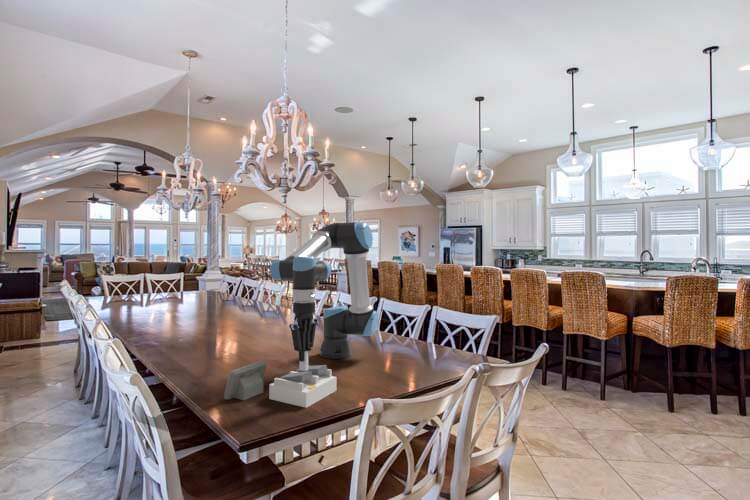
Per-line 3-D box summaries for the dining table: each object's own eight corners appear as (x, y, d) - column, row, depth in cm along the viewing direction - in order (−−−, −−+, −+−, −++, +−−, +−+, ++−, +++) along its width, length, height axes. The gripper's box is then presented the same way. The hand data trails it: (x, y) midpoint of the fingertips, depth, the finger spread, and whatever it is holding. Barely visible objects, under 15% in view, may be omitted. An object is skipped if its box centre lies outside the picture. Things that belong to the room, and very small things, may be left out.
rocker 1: (280, 384, 140) (279, 377, 141) (290, 379, 145) (289, 373, 145) (302, 382, 136) (301, 375, 136) (312, 377, 141) (311, 371, 141)
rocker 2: (296, 376, 148) (295, 370, 149) (305, 372, 153) (305, 366, 153) (318, 375, 144) (317, 368, 144) (327, 370, 149) (326, 364, 149)
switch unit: (269, 398, 141) (269, 377, 140) (301, 383, 156) (301, 364, 156) (306, 407, 133) (306, 385, 133) (336, 390, 149) (336, 370, 149)
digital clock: (259, 385, 154) (259, 358, 154) (273, 391, 148) (273, 362, 147) (218, 397, 142) (218, 367, 141) (231, 404, 136) (231, 373, 135)
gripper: (300, 304, 131) (300, 377, 131) (324, 299, 143) (323, 366, 143) (282, 302, 135) (282, 373, 135) (306, 298, 146) (306, 363, 146)
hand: (303, 369), depth 139 cm, fingers closed
